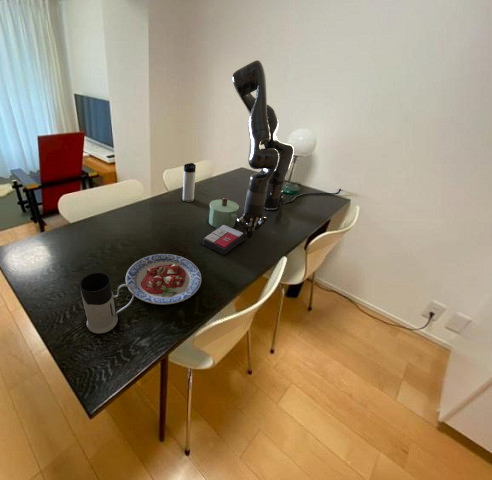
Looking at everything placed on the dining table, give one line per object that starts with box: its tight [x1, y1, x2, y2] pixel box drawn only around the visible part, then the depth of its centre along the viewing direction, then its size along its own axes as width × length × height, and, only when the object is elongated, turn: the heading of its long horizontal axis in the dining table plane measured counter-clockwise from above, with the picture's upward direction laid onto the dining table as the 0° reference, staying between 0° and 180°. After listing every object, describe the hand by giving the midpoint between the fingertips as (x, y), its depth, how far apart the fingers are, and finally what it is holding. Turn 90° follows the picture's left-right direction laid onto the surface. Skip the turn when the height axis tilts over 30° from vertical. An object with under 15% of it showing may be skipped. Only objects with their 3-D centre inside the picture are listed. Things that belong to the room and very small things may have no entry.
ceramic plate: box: [125, 253, 202, 306], centre depth 91 cm, size 26×26×3 cm
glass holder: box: [79, 271, 135, 334], centre depth 73 cm, size 9×14×15 cm, turn 93°
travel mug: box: [182, 162, 197, 203], centre depth 144 cm, size 6×7×20 cm
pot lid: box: [209, 196, 240, 213], centre depth 122 cm, size 14×14×5 cm
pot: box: [208, 207, 239, 229], centre depth 125 cm, size 13×18×8 cm
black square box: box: [202, 225, 245, 256], centre depth 112 cm, size 11×4×15 cm
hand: (248, 237), depth 114 cm, fingers closed
